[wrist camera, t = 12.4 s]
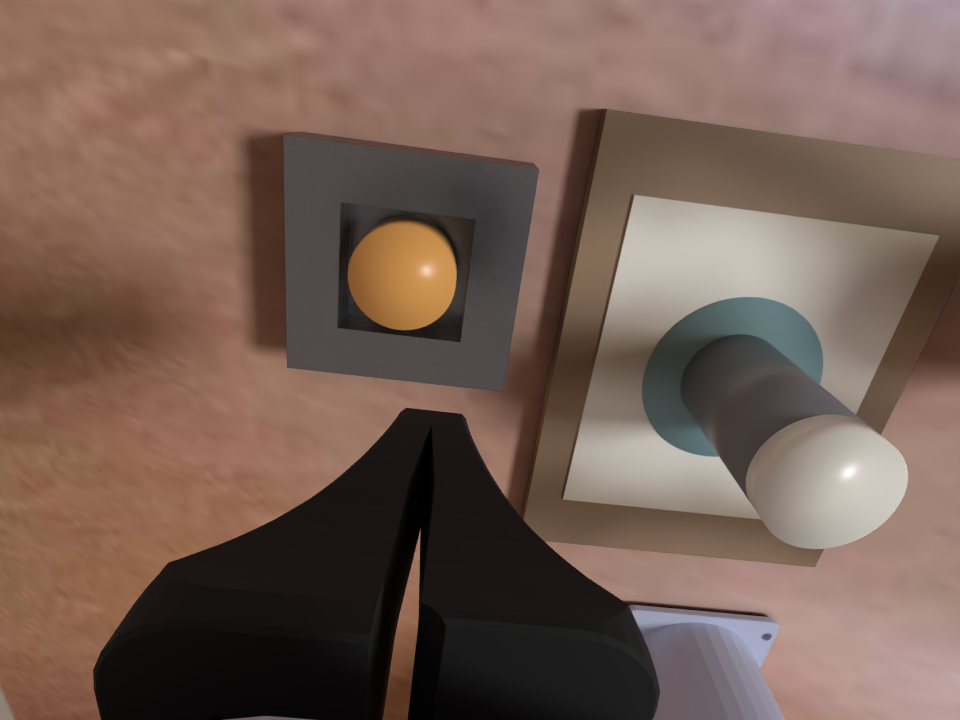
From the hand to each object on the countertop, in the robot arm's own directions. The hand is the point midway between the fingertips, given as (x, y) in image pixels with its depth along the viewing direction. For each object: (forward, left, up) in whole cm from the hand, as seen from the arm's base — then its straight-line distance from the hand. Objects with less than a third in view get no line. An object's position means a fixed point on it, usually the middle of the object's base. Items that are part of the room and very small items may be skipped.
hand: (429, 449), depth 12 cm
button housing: (+1, +2, -10) cm, 11 cm away
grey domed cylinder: (-2, -11, -9) cm, 15 cm away
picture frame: (-2, -11, -10) cm, 15 cm away
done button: (+1, +2, -10) cm, 10 cm away
